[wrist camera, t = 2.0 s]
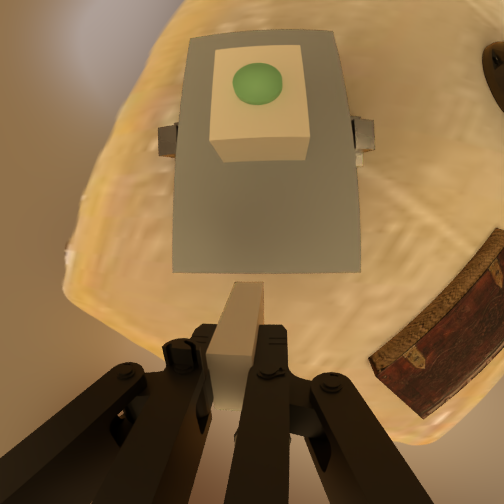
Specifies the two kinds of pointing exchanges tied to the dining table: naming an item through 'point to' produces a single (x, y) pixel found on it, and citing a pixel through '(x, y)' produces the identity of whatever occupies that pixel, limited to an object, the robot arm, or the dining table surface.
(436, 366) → the hardback book
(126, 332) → the dining table surface
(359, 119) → the pivot stand
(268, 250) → the instrument plate
